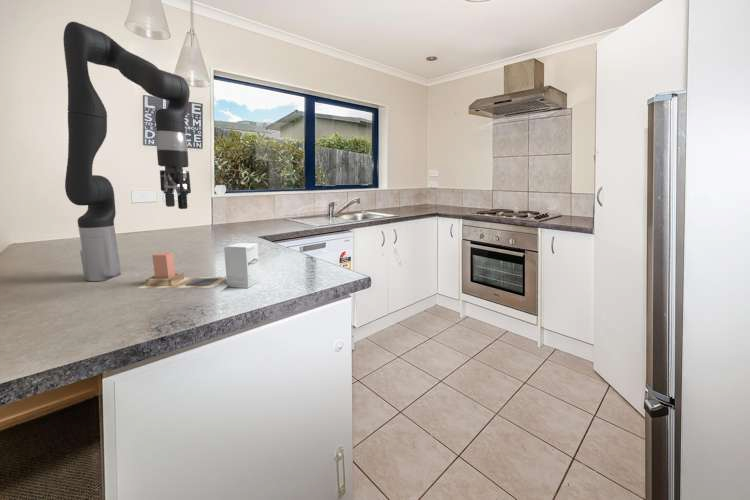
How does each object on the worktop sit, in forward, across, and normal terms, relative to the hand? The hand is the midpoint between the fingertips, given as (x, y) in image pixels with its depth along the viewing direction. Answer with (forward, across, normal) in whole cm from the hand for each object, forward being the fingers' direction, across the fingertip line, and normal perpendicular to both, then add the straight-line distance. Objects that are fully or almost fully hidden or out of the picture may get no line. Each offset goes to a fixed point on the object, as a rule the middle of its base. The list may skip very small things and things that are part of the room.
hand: (176, 207), depth 104 cm
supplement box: (+24, -11, -14) cm, 30 cm away
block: (+23, +6, +2) cm, 24 cm away
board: (+24, +2, -2) cm, 24 cm away
